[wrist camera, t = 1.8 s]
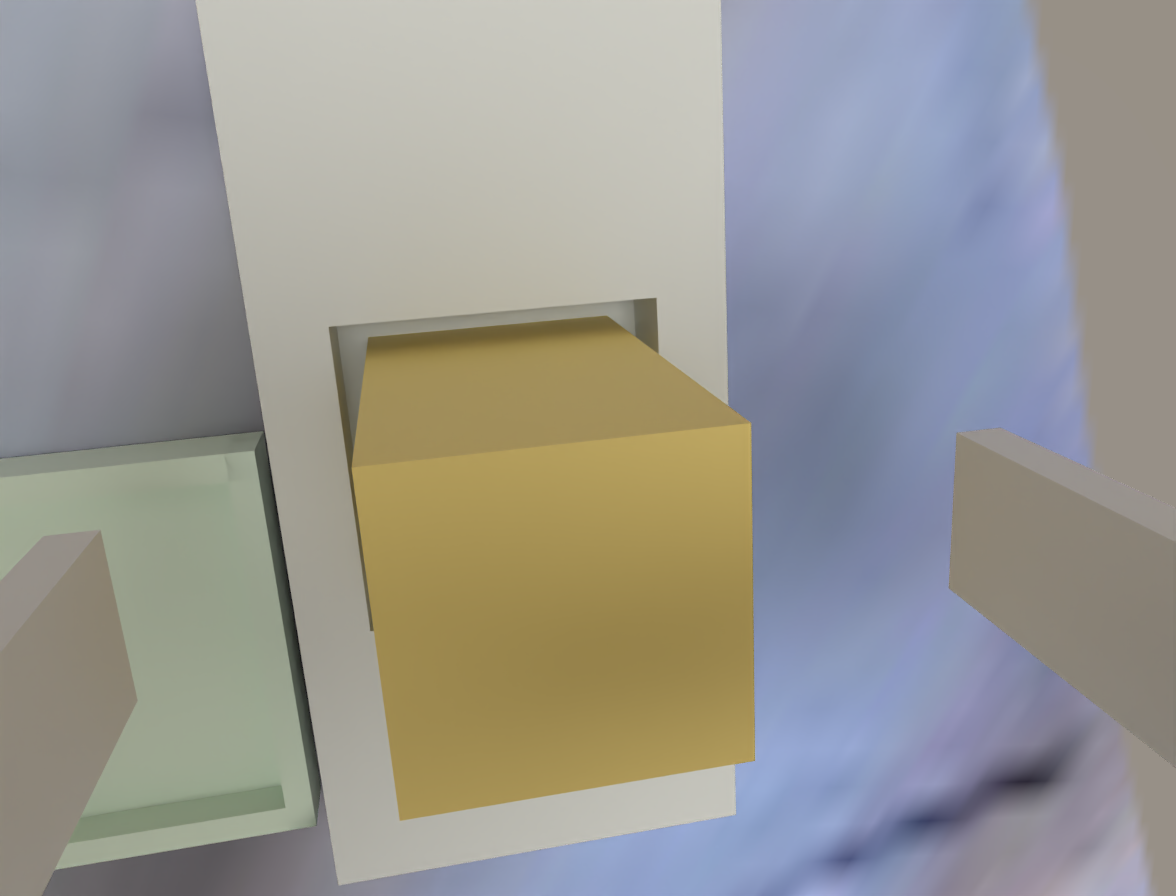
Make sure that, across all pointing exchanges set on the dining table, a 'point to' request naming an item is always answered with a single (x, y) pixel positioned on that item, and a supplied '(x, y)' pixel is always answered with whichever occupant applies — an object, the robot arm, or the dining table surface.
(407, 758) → the block
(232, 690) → the tray
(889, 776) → the dining table surface
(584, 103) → the recessed block
